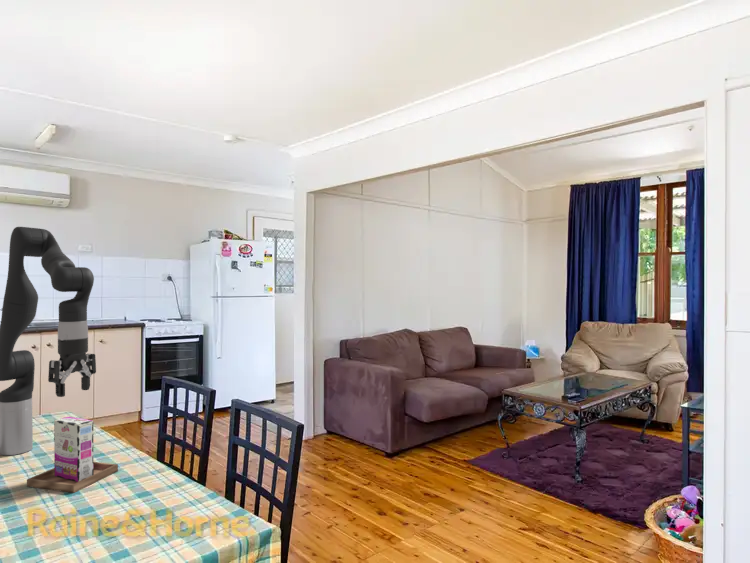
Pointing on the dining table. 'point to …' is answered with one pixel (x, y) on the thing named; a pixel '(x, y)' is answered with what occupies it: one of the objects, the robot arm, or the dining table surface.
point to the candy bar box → (73, 448)
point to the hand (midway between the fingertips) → (73, 393)
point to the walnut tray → (60, 484)
